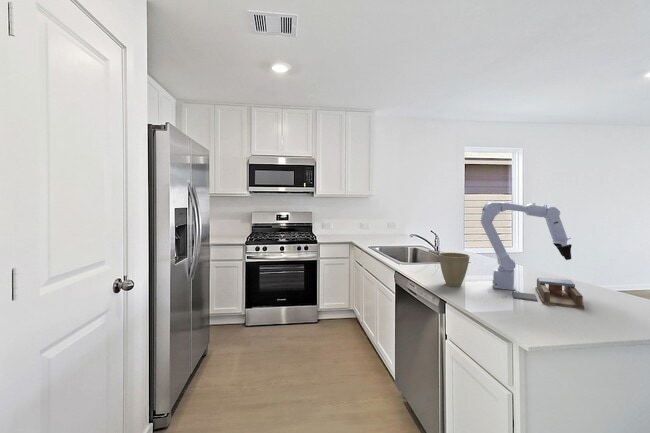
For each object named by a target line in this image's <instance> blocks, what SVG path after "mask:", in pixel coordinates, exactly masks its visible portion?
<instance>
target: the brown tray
mask: <svg viewBox="0 0 650 433" xmlns="http://www.w3.org/2000/svg"><path fill="white" fill-rule="evenodd" d="M546 285H547V284H540V283H539V281H538V278H536V286H535V292H536V293H537V295H538V297H539V299H540V302H541V303H542V304H544V305H551V306H560V307H568V308H574V309H575V308H576V309H585V306H584V305H583V299H584V296H583V295H582V293H580V292H579V290H578V289H577V288H576V286H575V287H570V286H563V289H562V295H558V294H550V292H549V290H548V287H547V286H546Z"/></svg>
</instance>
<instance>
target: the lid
mask: <svg viewBox="0 0 650 433" xmlns="http://www.w3.org/2000/svg"><path fill="white" fill-rule="evenodd" d="M537 279H538V281H539V283H540V284H545V285H549V284H550V285H560V286H562V287H564V286H570V287H575V288H576V284H575V283H574V282H573V280H571V279H562V278H553V277H552V278H551V277H543V276H542V277H541V276H537Z"/></svg>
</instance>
